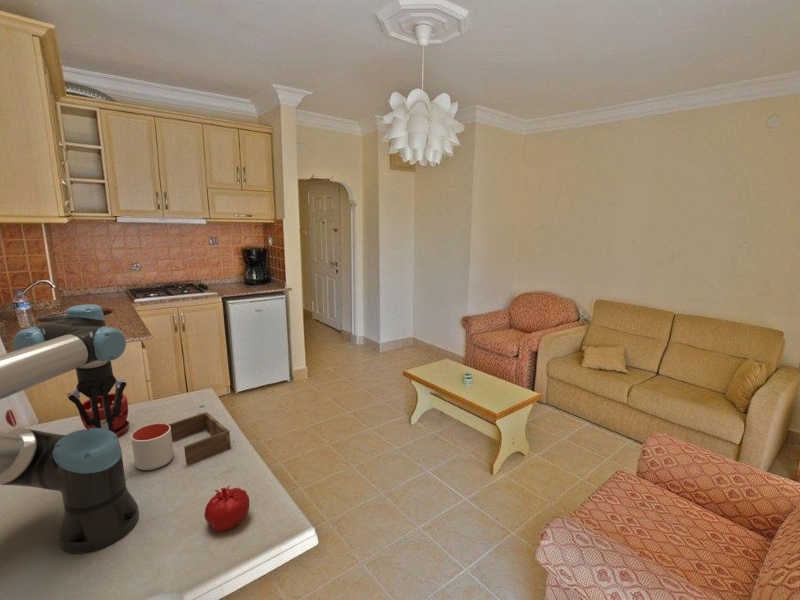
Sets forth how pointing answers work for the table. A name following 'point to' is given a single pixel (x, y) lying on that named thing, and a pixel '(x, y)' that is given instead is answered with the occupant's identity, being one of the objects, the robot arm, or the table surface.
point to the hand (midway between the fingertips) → (106, 443)
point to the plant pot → (119, 422)
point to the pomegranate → (227, 508)
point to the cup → (152, 446)
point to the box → (204, 446)
